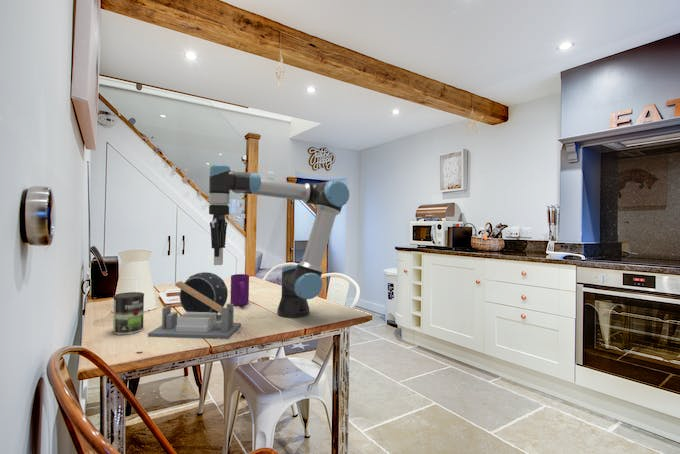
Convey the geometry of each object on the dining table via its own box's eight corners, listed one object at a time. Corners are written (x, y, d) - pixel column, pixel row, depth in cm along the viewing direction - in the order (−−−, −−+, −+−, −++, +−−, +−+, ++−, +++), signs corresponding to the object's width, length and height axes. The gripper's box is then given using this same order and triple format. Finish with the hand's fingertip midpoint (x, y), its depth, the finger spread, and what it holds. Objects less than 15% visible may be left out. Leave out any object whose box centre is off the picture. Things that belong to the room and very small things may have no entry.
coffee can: (149, 329, 139) (149, 294, 138) (121, 336, 130) (121, 298, 129) (135, 324, 144) (135, 290, 144) (107, 331, 135) (108, 295, 135)
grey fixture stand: (240, 325, 146) (241, 301, 146) (228, 338, 130) (228, 311, 130) (169, 323, 147) (169, 299, 147) (147, 336, 131) (148, 309, 131)
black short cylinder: (217, 322, 150) (218, 275, 150) (176, 318, 154) (176, 273, 154) (230, 315, 161) (230, 272, 160) (191, 312, 165) (191, 269, 164)
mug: (247, 301, 188) (247, 273, 188) (252, 308, 174) (252, 278, 174) (229, 302, 185) (229, 274, 184) (233, 310, 170) (233, 279, 170)
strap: (230, 315, 140) (232, 311, 140) (226, 318, 136) (229, 314, 136) (178, 284, 140) (181, 280, 140) (174, 286, 136) (176, 281, 136)
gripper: (216, 205, 144) (215, 262, 145) (202, 203, 130) (201, 266, 131) (234, 205, 144) (233, 262, 145) (222, 204, 130) (221, 267, 131)
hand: (218, 264), depth 138 cm, fingers closed
